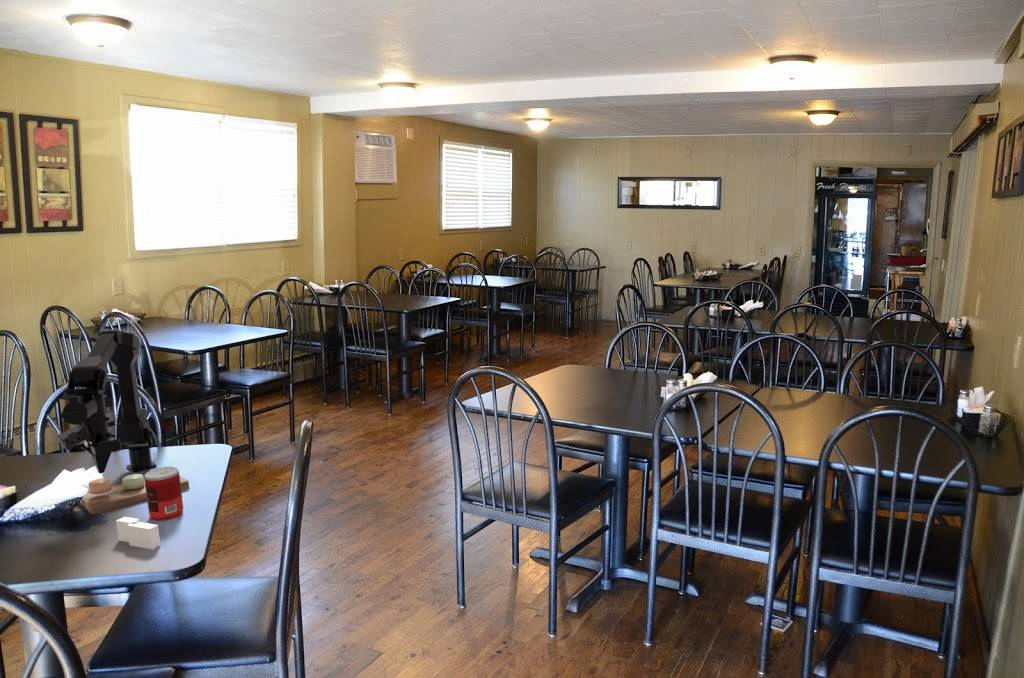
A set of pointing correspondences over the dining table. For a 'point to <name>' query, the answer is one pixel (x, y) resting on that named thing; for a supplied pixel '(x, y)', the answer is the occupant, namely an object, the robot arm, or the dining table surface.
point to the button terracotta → (100, 486)
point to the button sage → (133, 481)
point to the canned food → (163, 493)
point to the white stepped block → (138, 533)
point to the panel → (118, 497)
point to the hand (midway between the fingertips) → (101, 472)
